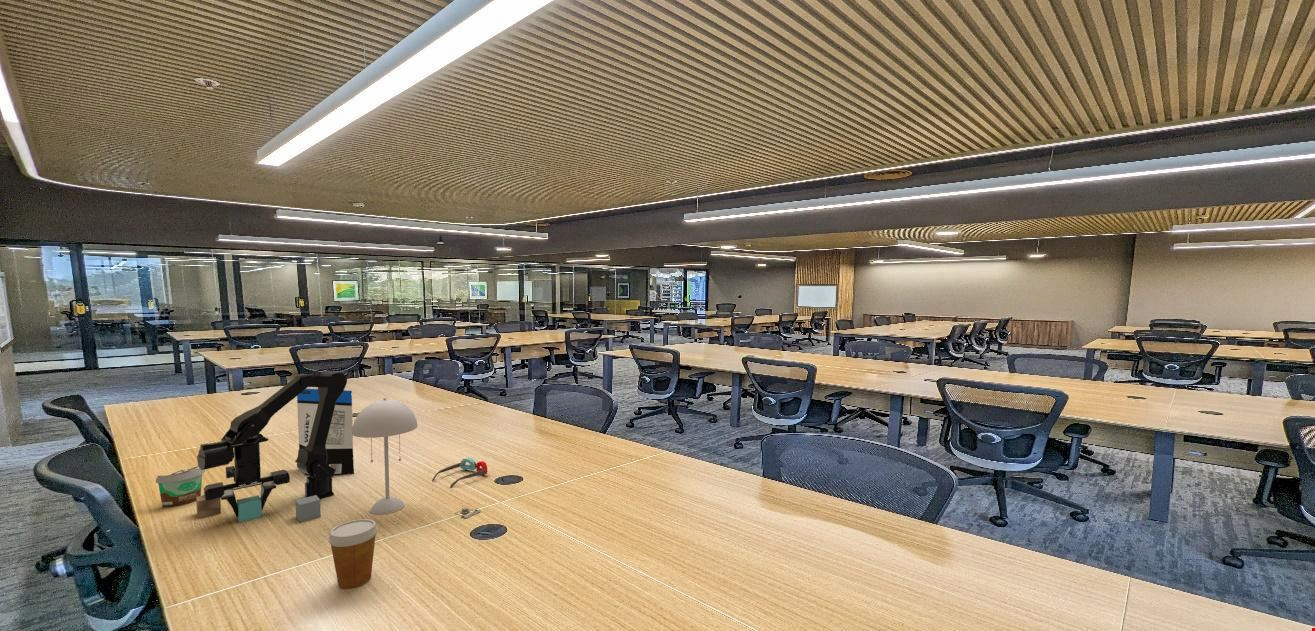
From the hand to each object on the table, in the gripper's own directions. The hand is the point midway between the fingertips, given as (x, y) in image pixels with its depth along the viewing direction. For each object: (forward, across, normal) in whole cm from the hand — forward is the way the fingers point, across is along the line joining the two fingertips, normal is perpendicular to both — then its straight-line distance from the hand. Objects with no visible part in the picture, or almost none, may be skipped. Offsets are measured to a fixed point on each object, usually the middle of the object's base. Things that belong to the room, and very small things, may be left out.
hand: (249, 513), depth 145 cm
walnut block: (+1, +8, -12) cm, 14 cm away
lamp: (+1, -30, +22) cm, 37 cm away
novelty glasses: (+2, -56, +13) cm, 58 cm away
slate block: (+1, -12, +12) cm, 17 cm away
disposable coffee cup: (+1, -12, +59) cm, 60 cm away
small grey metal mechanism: (+2, -48, +45) cm, 66 cm away
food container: (+1, +12, -28) cm, 30 cm away
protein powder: (+1, -25, -29) cm, 38 cm away
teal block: (+1, 0, 0) cm, 1 cm away
